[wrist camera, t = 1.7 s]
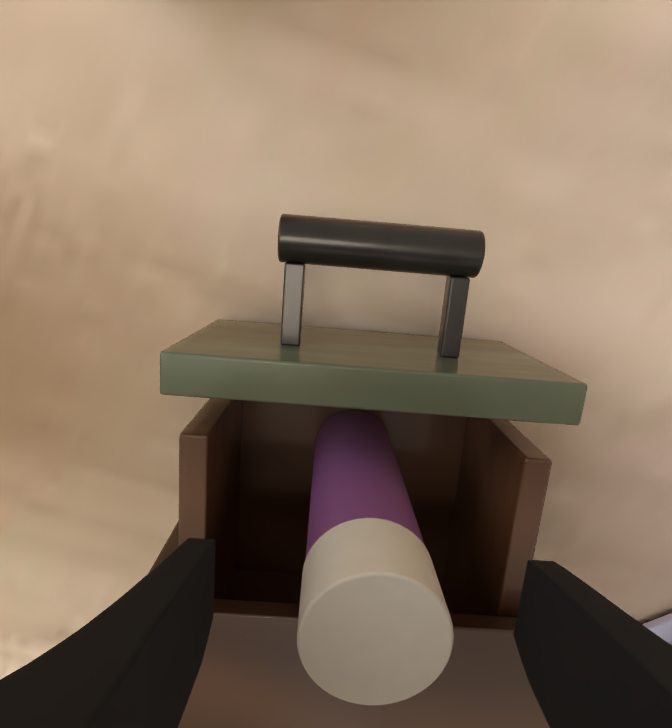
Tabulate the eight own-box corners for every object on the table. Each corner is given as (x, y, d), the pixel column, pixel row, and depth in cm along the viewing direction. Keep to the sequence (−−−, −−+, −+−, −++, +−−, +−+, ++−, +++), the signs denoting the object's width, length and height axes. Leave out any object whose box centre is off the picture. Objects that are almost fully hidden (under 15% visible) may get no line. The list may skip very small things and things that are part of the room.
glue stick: (402, 461, 19) (478, 672, 9) (334, 491, 19) (337, 728, 10) (371, 395, 19) (416, 549, 9) (300, 427, 19) (268, 611, 9)
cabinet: (204, 475, 21) (127, 607, 13) (483, 494, 22) (574, 634, 14) (199, 697, 24) (133, 920, 16) (448, 711, 24) (506, 935, 16)
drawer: (220, 217, 18) (158, 195, 12) (518, 242, 18) (620, 235, 12) (211, 567, 21) (159, 702, 15) (463, 583, 22) (519, 722, 15)
